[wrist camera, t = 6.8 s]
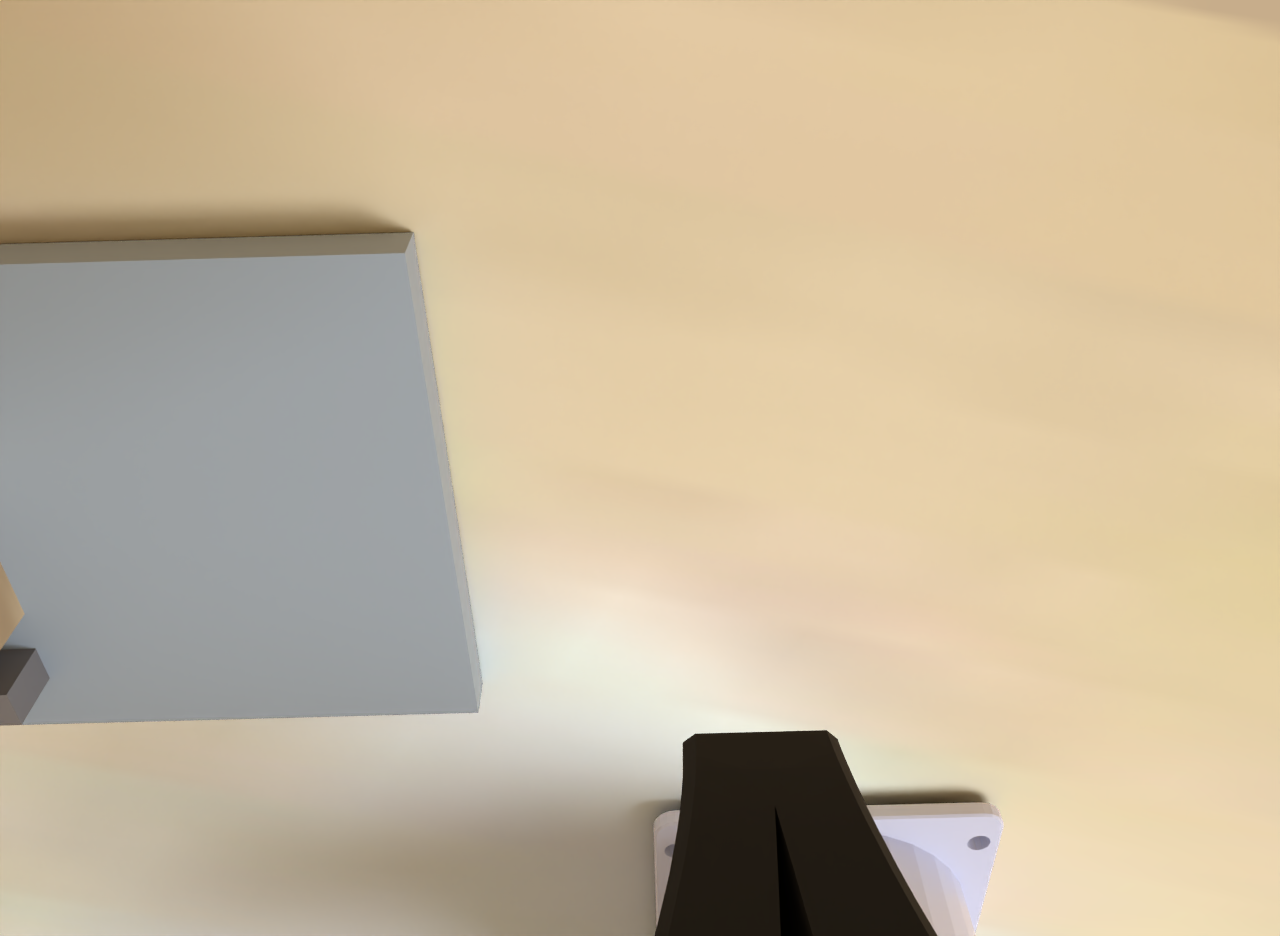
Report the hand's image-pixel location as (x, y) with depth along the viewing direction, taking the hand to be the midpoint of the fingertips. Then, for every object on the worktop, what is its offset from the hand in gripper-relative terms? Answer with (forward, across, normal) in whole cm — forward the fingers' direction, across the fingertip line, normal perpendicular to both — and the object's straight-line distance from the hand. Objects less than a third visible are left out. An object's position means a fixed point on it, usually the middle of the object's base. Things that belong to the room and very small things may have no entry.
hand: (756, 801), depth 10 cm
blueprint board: (+9, +12, +3) cm, 16 cm away
